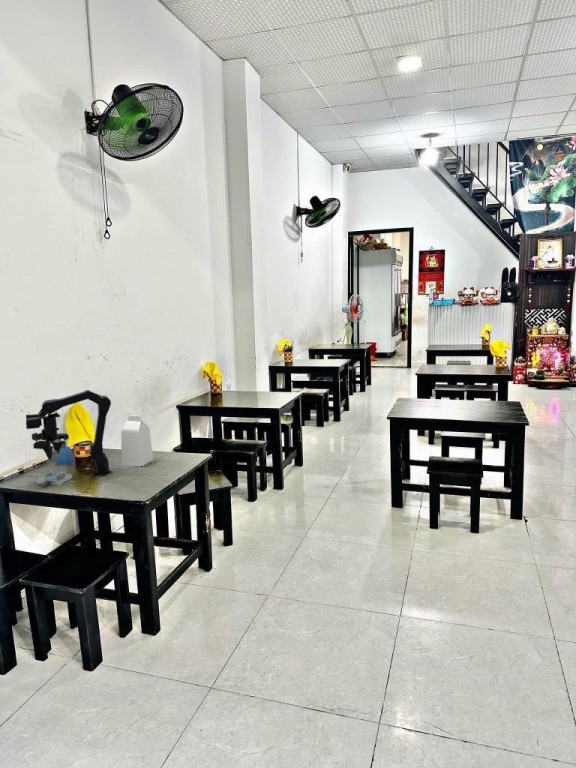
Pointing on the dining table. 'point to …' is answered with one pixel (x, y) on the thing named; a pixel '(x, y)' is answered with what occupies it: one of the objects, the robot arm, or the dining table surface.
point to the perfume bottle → (64, 455)
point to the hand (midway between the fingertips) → (53, 458)
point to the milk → (136, 442)
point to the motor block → (53, 478)
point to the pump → (54, 456)
